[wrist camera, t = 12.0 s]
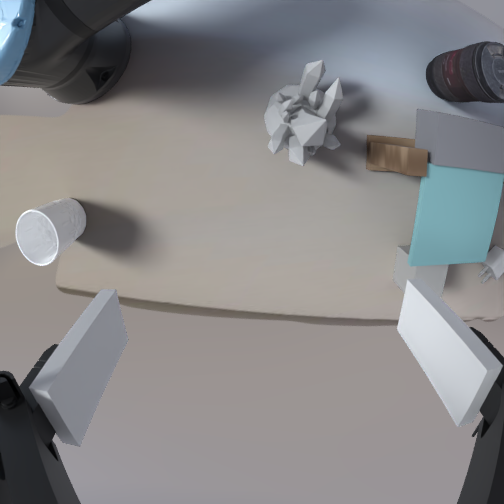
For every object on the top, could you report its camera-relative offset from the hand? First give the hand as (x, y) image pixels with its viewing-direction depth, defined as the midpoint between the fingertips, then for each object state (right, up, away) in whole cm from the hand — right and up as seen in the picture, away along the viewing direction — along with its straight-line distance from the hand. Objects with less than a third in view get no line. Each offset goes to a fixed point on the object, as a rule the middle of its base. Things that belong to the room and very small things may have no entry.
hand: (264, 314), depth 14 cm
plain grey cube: (+26, -2, +29) cm, 39 cm away
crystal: (+6, +21, +27) cm, 35 cm away
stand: (+25, +17, +29) cm, 42 cm away
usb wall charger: (+44, +1, +36) cm, 57 cm away
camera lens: (+29, +30, +24) cm, 48 cm away
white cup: (-29, +8, +32) cm, 44 cm away
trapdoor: (+25, +12, +23) cm, 36 cm away
